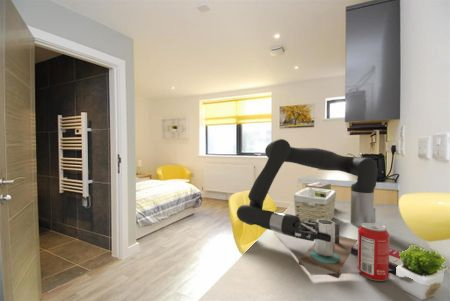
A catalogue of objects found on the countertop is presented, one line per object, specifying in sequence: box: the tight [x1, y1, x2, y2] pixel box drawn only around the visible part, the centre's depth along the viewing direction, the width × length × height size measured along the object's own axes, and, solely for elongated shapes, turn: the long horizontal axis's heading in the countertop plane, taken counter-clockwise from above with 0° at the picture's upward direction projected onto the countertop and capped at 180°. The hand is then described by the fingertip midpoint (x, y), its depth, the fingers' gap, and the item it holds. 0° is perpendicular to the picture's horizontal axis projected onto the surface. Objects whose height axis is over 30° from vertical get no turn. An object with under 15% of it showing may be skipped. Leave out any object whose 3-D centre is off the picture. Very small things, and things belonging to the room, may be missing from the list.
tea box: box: [304, 181, 332, 198], centre depth 141 cm, size 15×10×15 cm
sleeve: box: [314, 219, 336, 256], centre depth 75 cm, size 6×6×10 cm
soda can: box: [357, 222, 391, 282], centre depth 67 cm, size 8×8×15 cm
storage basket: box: [293, 187, 337, 222], centre depth 118 cm, size 24×16×15 cm
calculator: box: [350, 244, 402, 276], centre depth 76 cm, size 11×4×15 cm
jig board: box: [298, 222, 358, 279], centre depth 81 cm, size 30×12×8 cm, turn 140°
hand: (333, 235), depth 74 cm, fingers closed on sleeve, 5 cm apart
